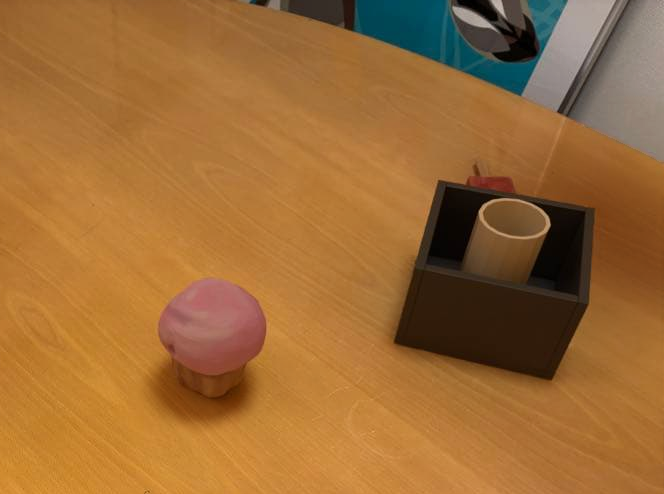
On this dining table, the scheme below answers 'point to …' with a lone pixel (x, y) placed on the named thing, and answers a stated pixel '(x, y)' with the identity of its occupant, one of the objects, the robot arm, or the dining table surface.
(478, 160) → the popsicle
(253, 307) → the cupcake
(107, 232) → the dining table surface
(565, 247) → the bin
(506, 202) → the cardboard tube
